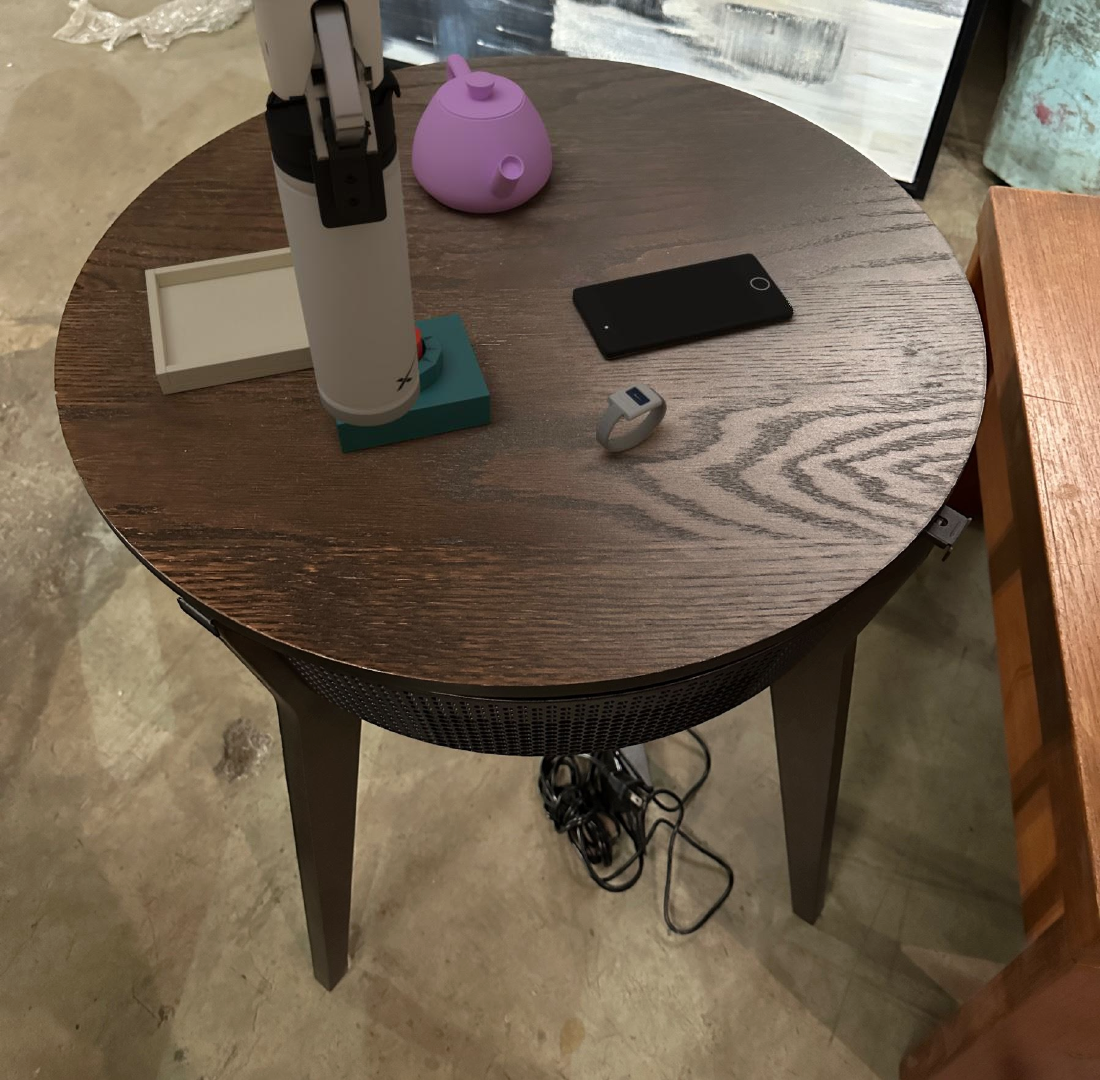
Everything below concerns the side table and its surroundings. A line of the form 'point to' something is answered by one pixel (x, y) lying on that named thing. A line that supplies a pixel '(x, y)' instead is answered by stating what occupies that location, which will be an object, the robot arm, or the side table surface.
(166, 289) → the tray
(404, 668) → the side table surface
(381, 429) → the block
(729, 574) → the side table surface
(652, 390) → the wristwatch
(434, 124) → the teapot
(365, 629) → the side table surface
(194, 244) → the side table surface
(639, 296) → the cell phone
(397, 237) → the travel mug
